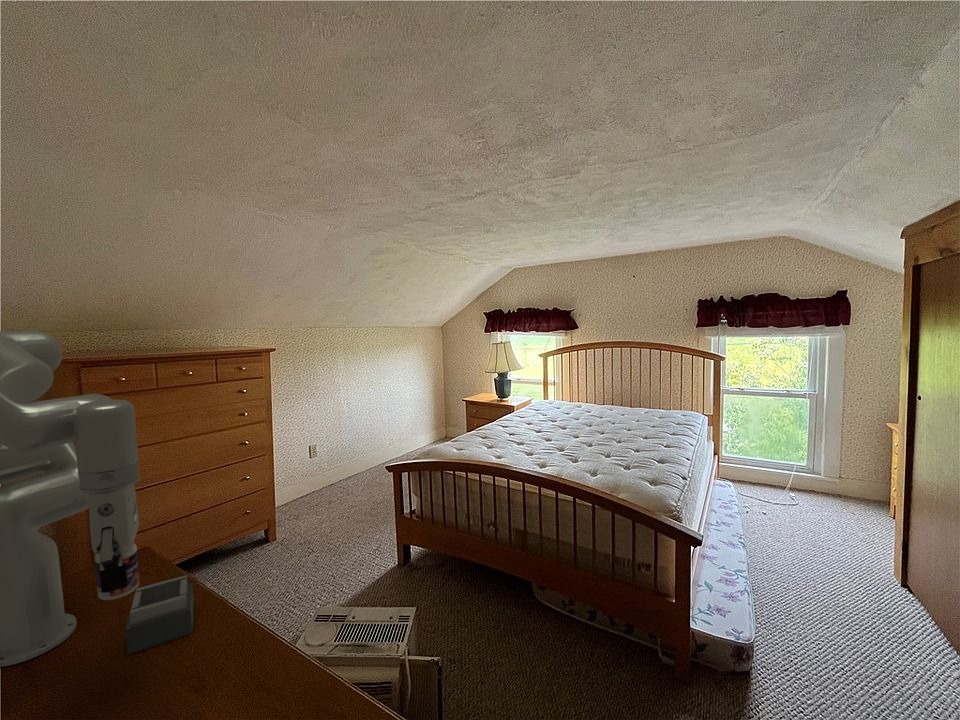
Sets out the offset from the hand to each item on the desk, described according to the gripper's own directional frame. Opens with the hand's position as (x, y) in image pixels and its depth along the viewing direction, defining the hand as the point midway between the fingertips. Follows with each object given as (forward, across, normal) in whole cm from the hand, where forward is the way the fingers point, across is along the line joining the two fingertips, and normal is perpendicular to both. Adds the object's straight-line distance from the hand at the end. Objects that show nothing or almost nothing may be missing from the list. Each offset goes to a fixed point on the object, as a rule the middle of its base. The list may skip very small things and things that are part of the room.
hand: (118, 577), depth 72 cm
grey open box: (+19, +12, -4) cm, 22 cm away
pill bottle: (+3, 0, 0) cm, 3 cm away
